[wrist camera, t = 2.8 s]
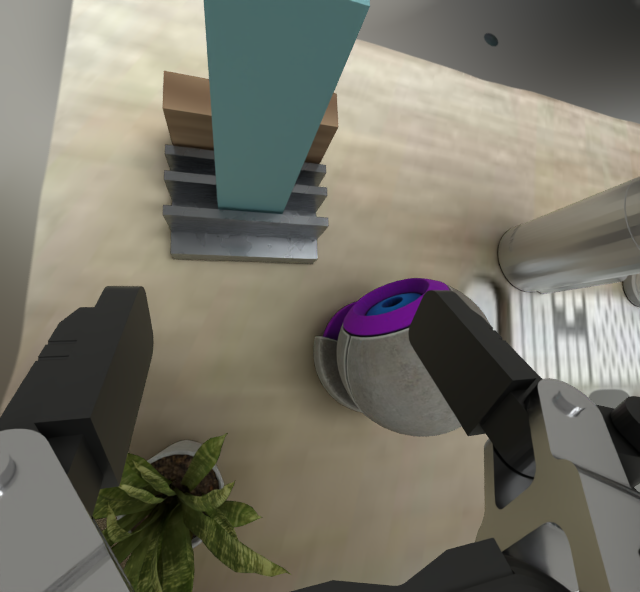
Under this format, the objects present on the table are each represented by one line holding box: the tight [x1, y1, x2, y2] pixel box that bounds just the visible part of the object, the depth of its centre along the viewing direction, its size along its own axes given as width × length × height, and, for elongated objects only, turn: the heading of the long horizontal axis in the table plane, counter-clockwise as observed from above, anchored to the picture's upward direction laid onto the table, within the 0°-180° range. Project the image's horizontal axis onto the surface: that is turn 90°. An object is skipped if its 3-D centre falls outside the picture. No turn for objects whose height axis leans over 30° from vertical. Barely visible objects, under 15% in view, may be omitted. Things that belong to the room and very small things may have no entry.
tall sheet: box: [204, 0, 370, 214], centre depth 21 cm, size 2×6×22 cm, turn 92°
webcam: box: [314, 278, 491, 436], centre depth 28 cm, size 13×13×15 cm
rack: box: [163, 145, 328, 264], centre depth 31 cm, size 14×14×6 cm
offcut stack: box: [163, 71, 338, 164], centre depth 28 cm, size 3×13×9 cm, turn 92°
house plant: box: [93, 433, 291, 592], centre depth 20 cm, size 14×14×16 cm
